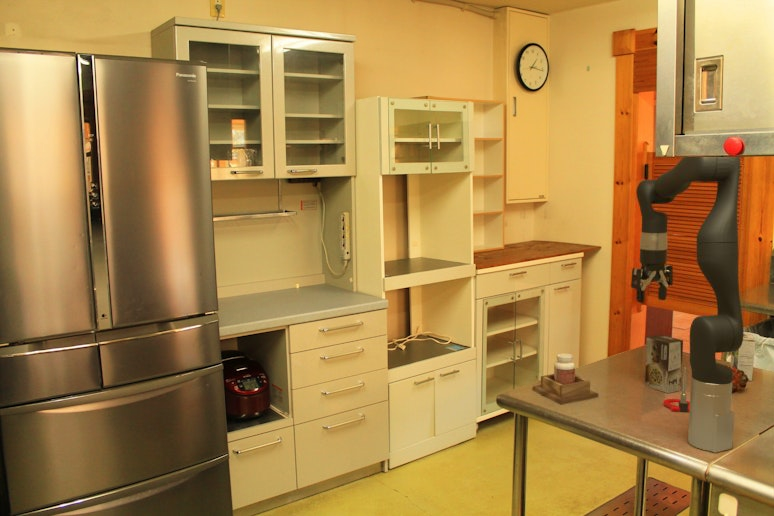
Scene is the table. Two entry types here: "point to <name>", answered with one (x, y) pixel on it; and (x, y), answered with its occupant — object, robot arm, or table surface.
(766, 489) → the table surface
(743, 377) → the dragon fruit
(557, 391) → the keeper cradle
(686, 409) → the tow hook
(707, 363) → the robot arm
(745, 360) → the syrup box
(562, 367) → the pill bottle
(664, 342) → the coffee box
